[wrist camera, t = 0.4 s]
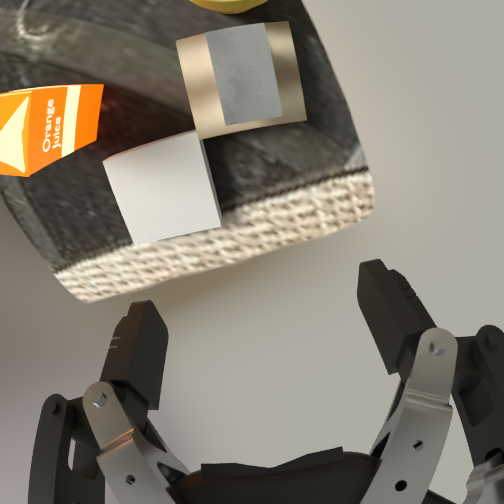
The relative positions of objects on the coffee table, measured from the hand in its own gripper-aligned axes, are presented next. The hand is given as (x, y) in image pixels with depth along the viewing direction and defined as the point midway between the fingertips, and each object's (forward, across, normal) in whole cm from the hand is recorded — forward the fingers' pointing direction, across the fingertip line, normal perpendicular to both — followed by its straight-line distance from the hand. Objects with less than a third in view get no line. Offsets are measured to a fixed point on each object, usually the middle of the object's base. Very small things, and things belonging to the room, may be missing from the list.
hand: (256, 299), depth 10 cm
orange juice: (+26, +20, -11) cm, 35 cm away
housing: (+23, -2, -8) cm, 25 cm away
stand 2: (+26, -2, -8) cm, 27 cm away
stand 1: (+26, +10, +3) cm, 28 cm away
